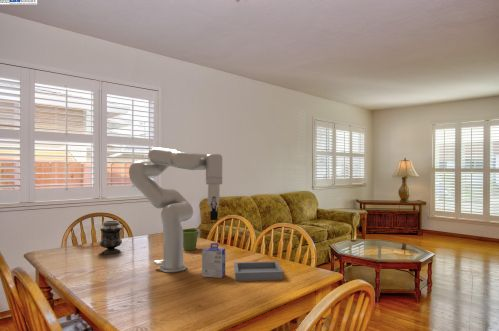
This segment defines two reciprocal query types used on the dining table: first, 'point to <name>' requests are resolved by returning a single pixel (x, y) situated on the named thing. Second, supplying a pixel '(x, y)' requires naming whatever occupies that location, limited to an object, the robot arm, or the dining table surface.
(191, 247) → the plant pot
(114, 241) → the apothecary jar
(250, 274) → the trough
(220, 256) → the ink cartridge box
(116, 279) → the dining table surface
